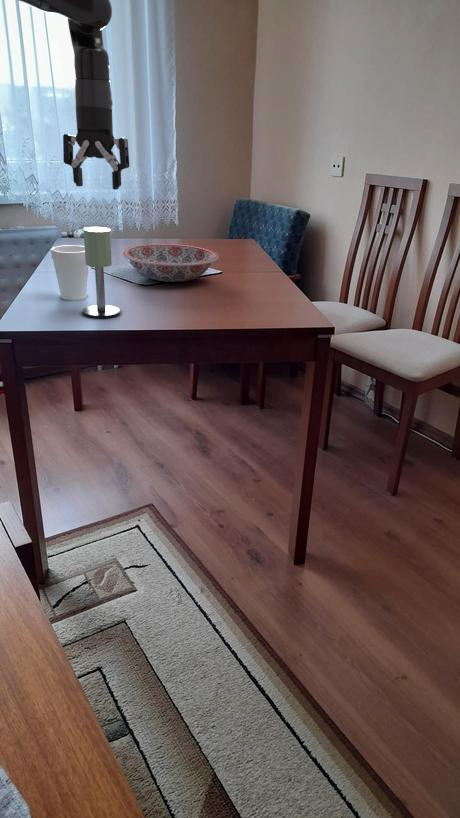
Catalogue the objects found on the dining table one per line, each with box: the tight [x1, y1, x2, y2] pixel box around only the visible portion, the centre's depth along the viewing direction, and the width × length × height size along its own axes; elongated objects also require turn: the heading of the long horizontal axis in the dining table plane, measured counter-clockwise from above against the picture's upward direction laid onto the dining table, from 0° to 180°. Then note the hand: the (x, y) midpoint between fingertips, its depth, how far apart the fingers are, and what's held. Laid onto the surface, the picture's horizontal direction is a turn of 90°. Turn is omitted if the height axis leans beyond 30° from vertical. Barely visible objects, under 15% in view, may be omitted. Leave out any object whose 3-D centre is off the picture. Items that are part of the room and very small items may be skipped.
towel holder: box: [82, 267, 121, 320], centre depth 133 cm, size 9×9×20 cm
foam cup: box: [50, 244, 89, 301], centre depth 146 cm, size 10×9×13 cm
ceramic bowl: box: [121, 243, 219, 283], centre depth 170 cm, size 29×29×8 cm
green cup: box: [83, 226, 113, 268], centre depth 130 cm, size 6×6×8 cm
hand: (97, 187), depth 124 cm, fingers open, 8 cm apart
